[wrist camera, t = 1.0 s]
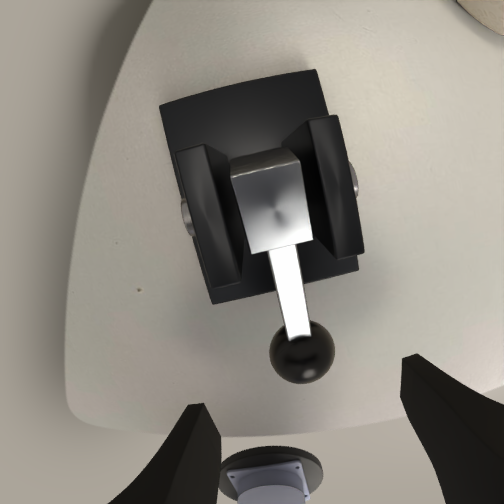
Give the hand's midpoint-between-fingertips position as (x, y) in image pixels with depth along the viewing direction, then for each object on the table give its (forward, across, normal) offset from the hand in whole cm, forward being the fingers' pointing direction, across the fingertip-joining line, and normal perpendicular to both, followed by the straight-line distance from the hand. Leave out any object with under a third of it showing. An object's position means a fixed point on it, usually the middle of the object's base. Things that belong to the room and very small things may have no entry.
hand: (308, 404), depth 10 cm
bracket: (+10, 0, -6) cm, 12 cm away
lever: (+5, 0, -3) cm, 6 cm away
